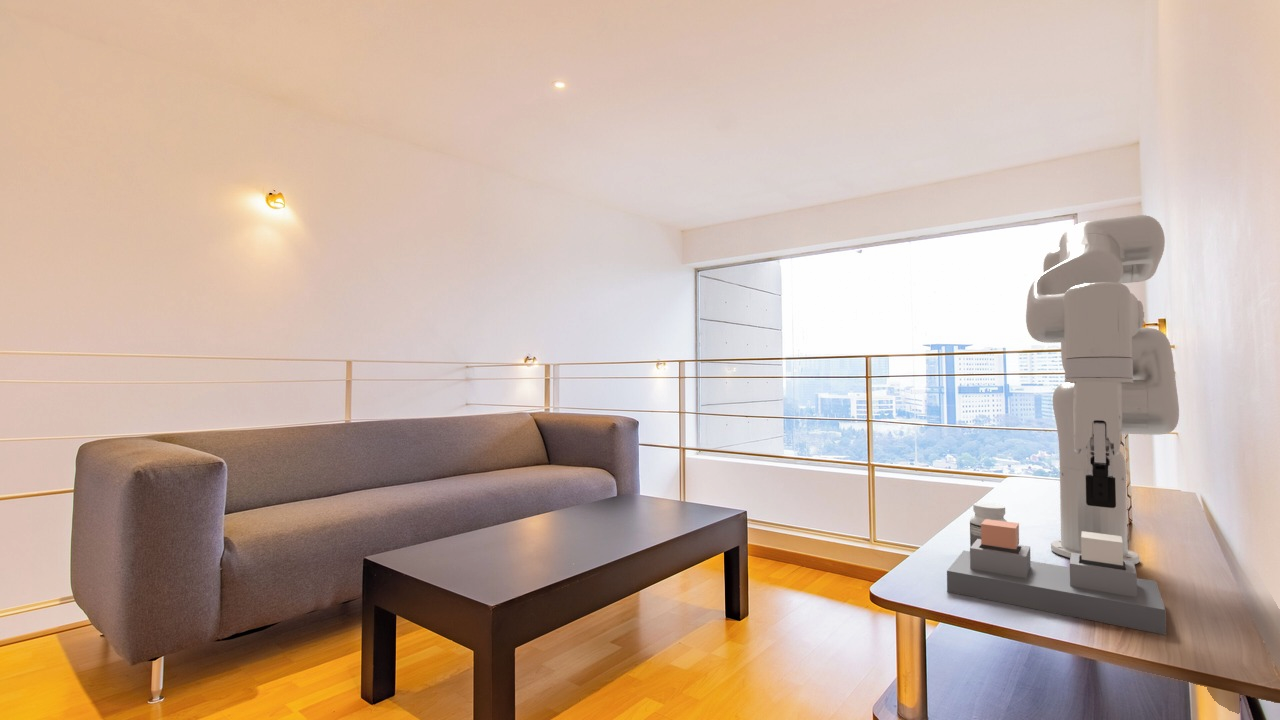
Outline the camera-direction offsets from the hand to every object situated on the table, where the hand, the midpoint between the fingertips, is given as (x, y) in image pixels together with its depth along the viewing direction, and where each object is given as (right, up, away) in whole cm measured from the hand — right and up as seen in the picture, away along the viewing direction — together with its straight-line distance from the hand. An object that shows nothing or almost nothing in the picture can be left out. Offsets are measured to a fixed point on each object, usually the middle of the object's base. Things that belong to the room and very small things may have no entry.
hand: (1100, 505), depth 81 cm
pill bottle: (-4, -15, +19) cm, 25 cm away
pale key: (0, -7, 0) cm, 7 cm away
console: (-5, -14, +3) cm, 15 cm away
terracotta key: (-9, -8, +7) cm, 14 cm away
